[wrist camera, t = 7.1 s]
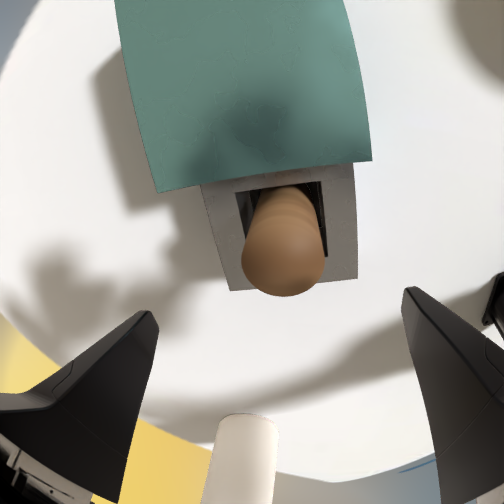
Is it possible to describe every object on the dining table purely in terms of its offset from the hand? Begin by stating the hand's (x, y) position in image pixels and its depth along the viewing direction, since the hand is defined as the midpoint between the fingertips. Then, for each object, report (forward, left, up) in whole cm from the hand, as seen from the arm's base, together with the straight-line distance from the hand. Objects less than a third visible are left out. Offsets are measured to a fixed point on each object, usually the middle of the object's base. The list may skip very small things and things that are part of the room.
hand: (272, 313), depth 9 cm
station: (+6, 0, -11) cm, 12 cm away
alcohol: (-32, +9, -11) cm, 35 cm away
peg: (0, 0, -11) cm, 11 cm away
